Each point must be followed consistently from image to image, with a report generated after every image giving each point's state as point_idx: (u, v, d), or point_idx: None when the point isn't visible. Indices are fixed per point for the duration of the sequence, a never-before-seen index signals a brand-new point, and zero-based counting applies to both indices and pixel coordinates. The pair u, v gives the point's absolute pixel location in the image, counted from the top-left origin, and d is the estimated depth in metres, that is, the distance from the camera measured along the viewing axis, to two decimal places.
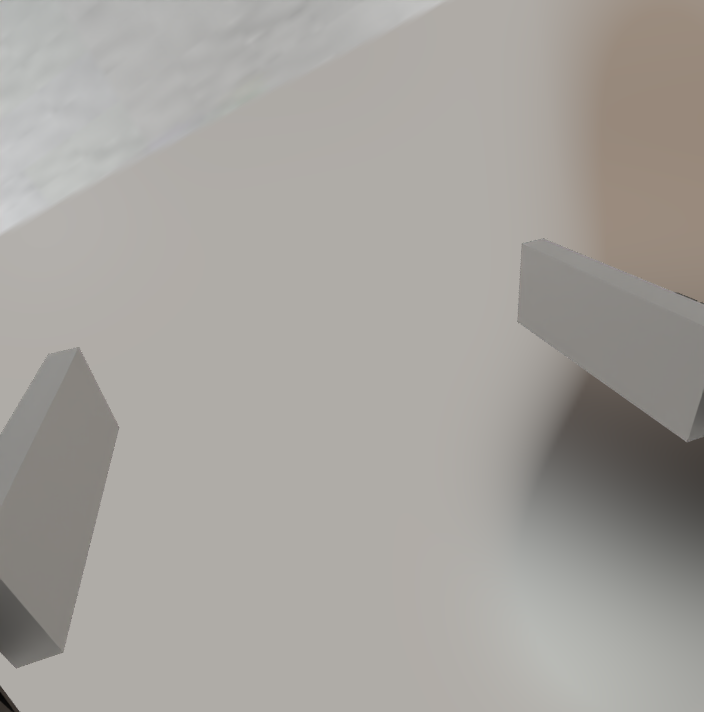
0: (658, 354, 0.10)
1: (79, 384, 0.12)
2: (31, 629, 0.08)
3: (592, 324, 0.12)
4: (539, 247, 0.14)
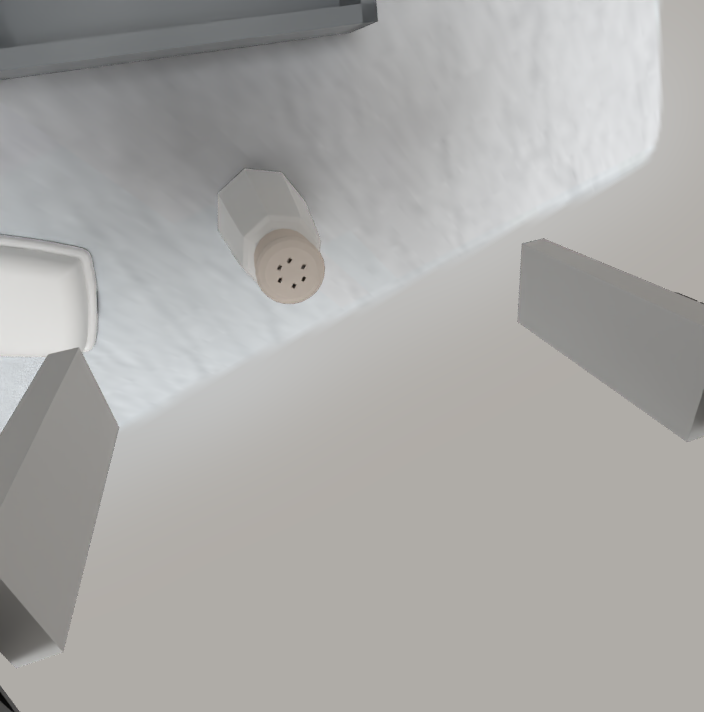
0: (658, 354, 0.10)
1: (79, 384, 0.12)
2: (31, 629, 0.08)
3: (592, 324, 0.12)
4: (539, 247, 0.14)
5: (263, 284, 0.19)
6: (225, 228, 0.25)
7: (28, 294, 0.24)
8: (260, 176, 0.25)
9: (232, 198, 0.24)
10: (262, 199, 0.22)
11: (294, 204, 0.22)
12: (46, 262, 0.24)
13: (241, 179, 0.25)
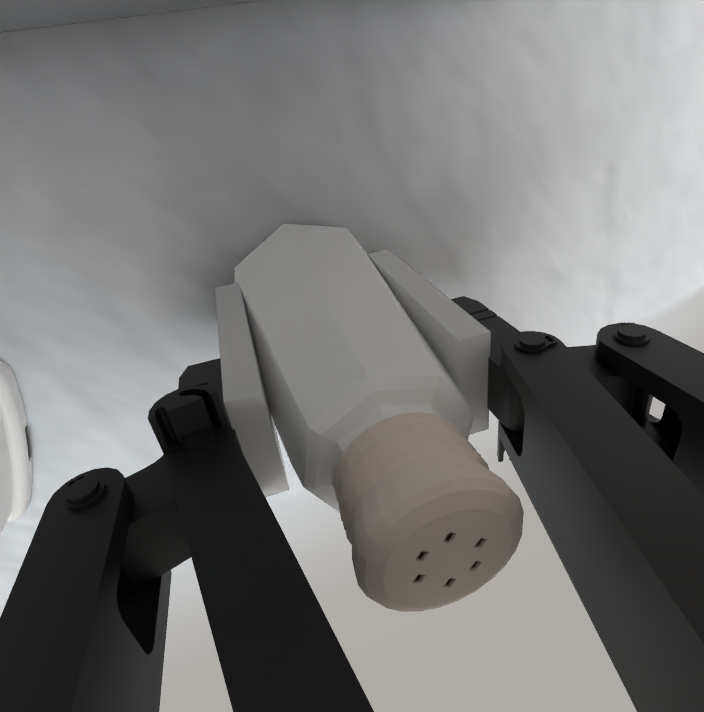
0: None
1: None
2: (275, 465, 0.10)
3: None
4: (378, 257, 0.15)
5: (375, 592, 0.07)
6: None
7: None
8: (315, 242, 0.14)
9: (267, 291, 0.13)
10: (339, 316, 0.10)
11: (407, 325, 0.10)
12: None
13: (279, 247, 0.14)
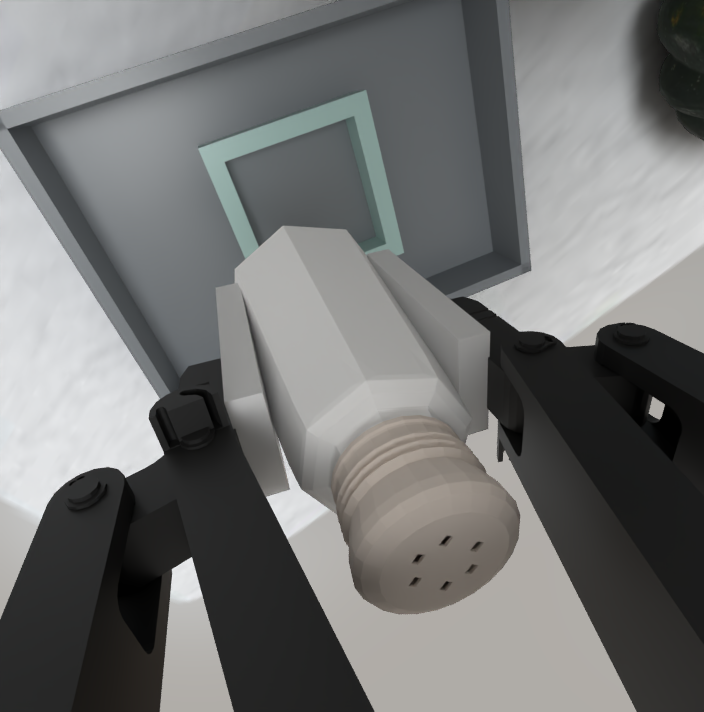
0: (436, 357, 0.11)
1: None
2: (276, 464, 0.10)
3: None
4: (378, 257, 0.15)
5: (371, 594, 0.07)
6: None
7: None
8: (315, 244, 0.14)
9: (266, 293, 0.13)
10: (338, 318, 0.10)
11: (406, 328, 0.10)
12: None
13: (279, 249, 0.14)
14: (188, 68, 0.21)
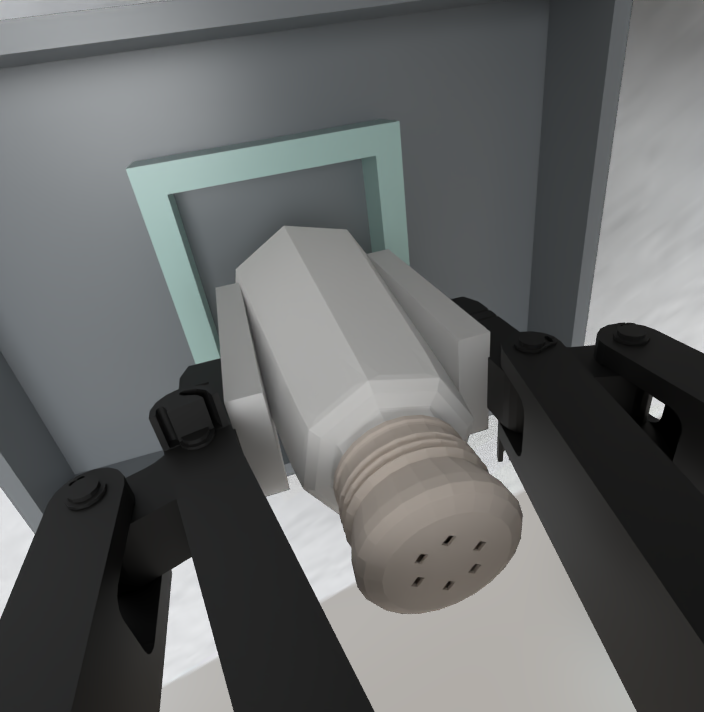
0: None
1: None
2: (275, 465, 0.10)
3: None
4: (378, 257, 0.15)
5: (374, 594, 0.07)
6: None
7: None
8: (315, 244, 0.14)
9: (268, 293, 0.13)
10: (339, 318, 0.10)
11: (407, 328, 0.10)
12: None
13: (280, 249, 0.14)
14: (113, 39, 0.13)
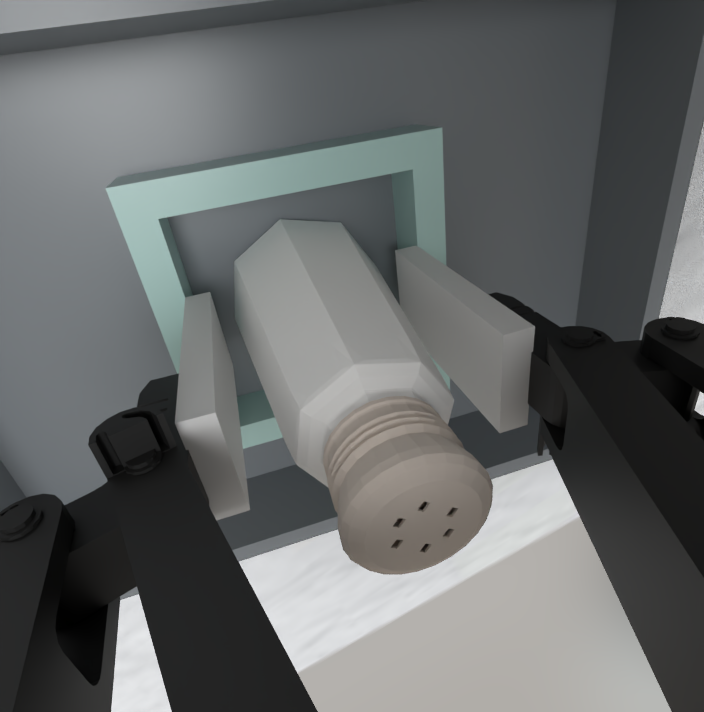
0: (475, 353, 0.11)
1: (215, 321, 0.14)
2: (234, 485, 0.10)
3: (440, 325, 0.13)
4: (407, 254, 0.15)
5: (357, 555, 0.08)
6: (250, 334, 0.14)
7: None
8: (310, 237, 0.14)
9: (264, 284, 0.13)
10: (330, 307, 0.11)
11: (393, 316, 0.11)
12: None
13: (276, 242, 0.14)
14: (83, 22, 0.09)
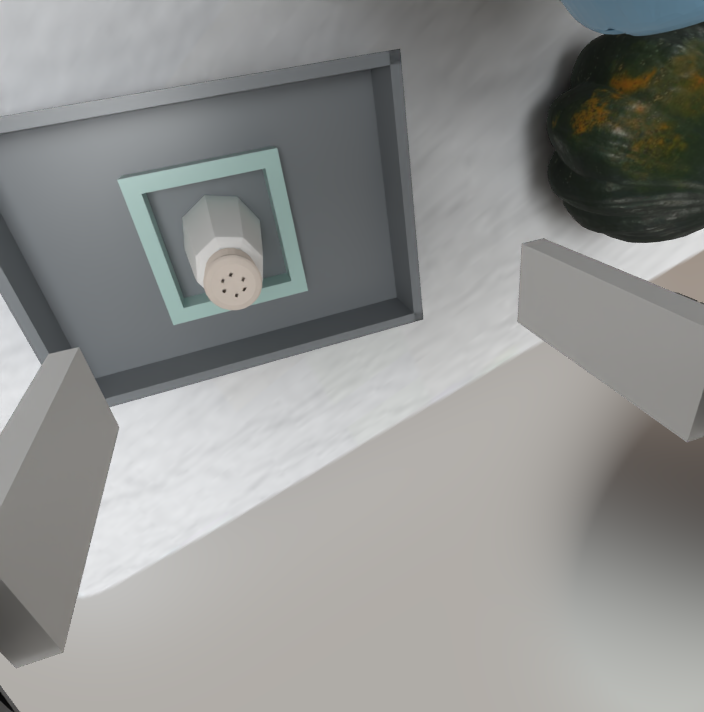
0: (658, 354, 0.10)
1: (79, 384, 0.12)
2: (31, 629, 0.08)
3: (592, 324, 0.12)
4: (539, 247, 0.14)
5: (210, 295, 0.23)
6: (187, 248, 0.29)
7: None
8: (217, 202, 0.29)
9: (192, 222, 0.28)
10: (213, 223, 0.26)
11: (240, 226, 0.26)
12: None
13: (201, 205, 0.29)
14: (109, 113, 0.24)
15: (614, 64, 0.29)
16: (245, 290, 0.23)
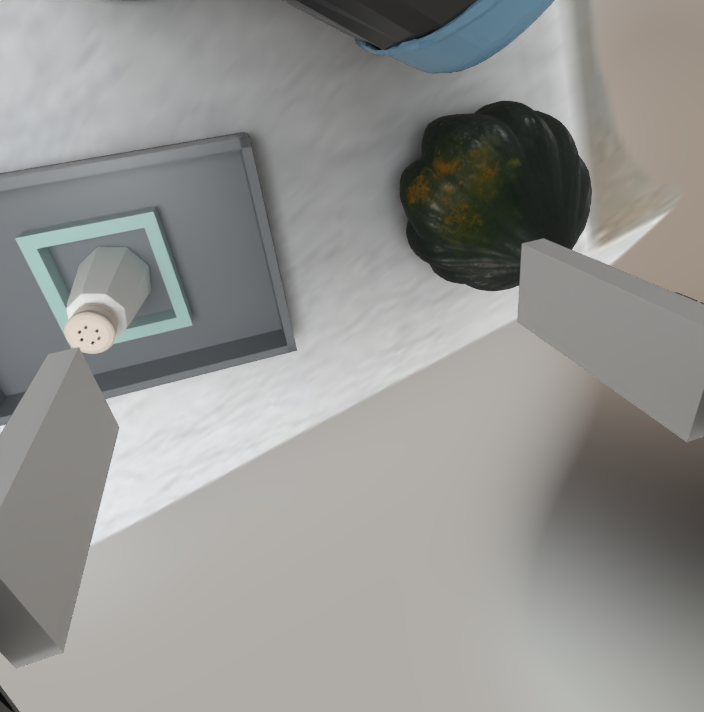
0: (658, 354, 0.10)
1: (79, 384, 0.12)
2: (31, 629, 0.08)
3: (592, 324, 0.12)
4: (539, 247, 0.14)
5: (70, 342, 0.29)
6: None
7: None
8: (104, 254, 0.35)
9: (80, 273, 0.34)
10: (88, 279, 0.32)
11: (110, 281, 0.32)
12: None
13: (91, 256, 0.35)
14: None
15: (436, 148, 0.34)
16: (100, 339, 0.29)
